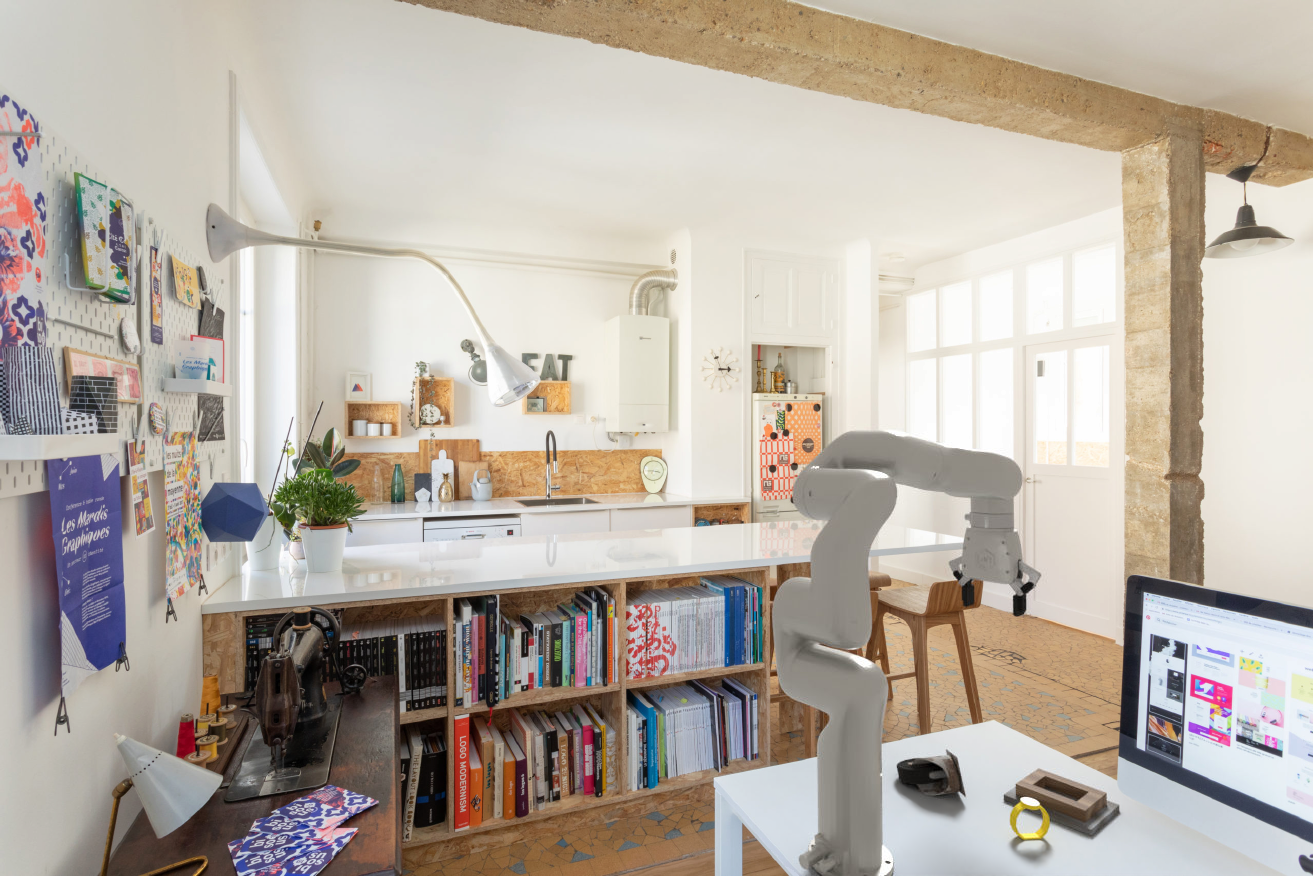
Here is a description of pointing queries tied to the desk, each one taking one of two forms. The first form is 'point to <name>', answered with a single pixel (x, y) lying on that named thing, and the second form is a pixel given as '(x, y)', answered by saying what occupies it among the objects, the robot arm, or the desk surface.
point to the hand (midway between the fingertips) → (993, 610)
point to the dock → (1065, 800)
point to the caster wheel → (933, 774)
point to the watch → (1033, 805)
